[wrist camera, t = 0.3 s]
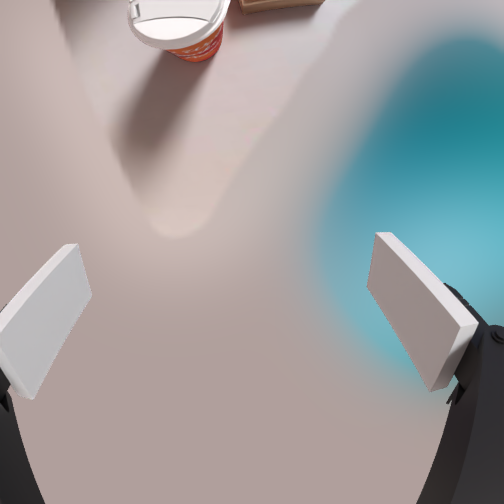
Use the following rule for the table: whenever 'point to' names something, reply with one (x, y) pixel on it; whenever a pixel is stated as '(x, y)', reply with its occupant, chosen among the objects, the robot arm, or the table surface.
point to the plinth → (273, 4)
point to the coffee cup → (179, 26)
